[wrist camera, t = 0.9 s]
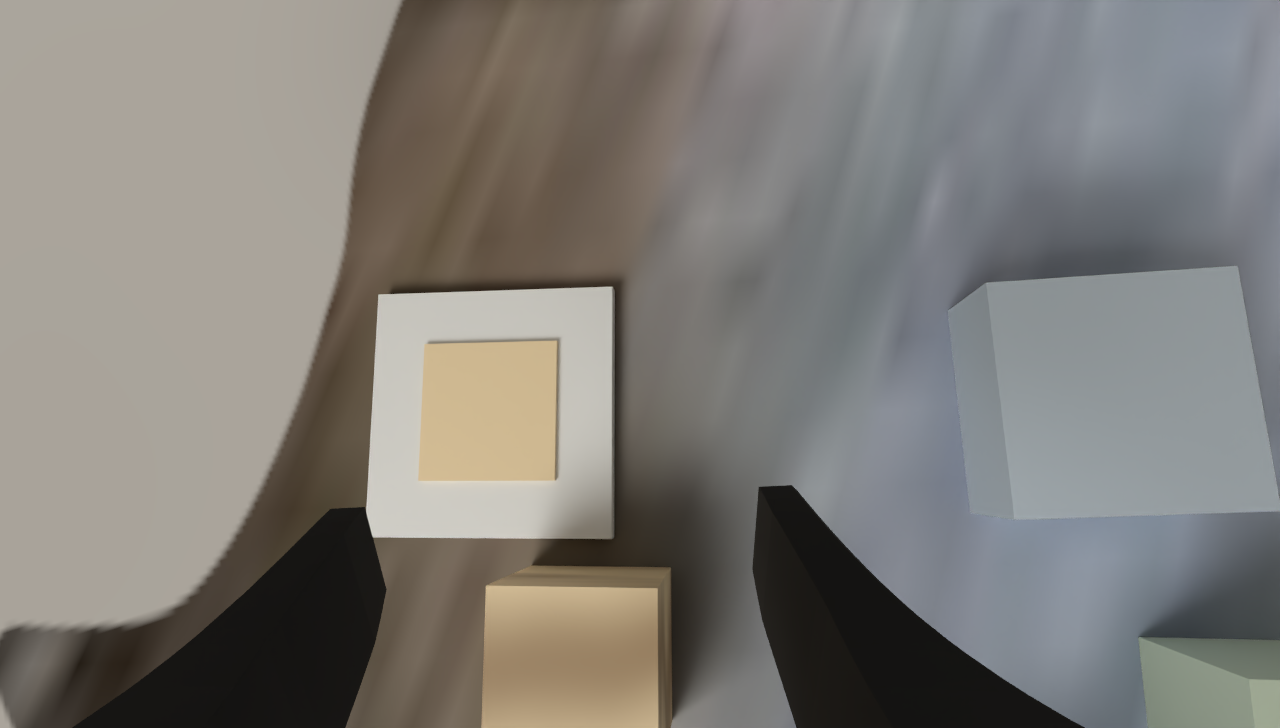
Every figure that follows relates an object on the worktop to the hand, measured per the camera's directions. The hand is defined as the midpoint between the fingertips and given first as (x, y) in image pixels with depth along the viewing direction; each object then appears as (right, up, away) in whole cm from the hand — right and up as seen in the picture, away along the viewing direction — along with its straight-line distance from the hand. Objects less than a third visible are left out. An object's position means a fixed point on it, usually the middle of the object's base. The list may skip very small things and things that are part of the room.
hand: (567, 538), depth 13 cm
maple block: (0, -6, +12) cm, 13 cm away
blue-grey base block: (+16, +2, +11) cm, 20 cm away
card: (-4, +1, +13) cm, 14 cm away
